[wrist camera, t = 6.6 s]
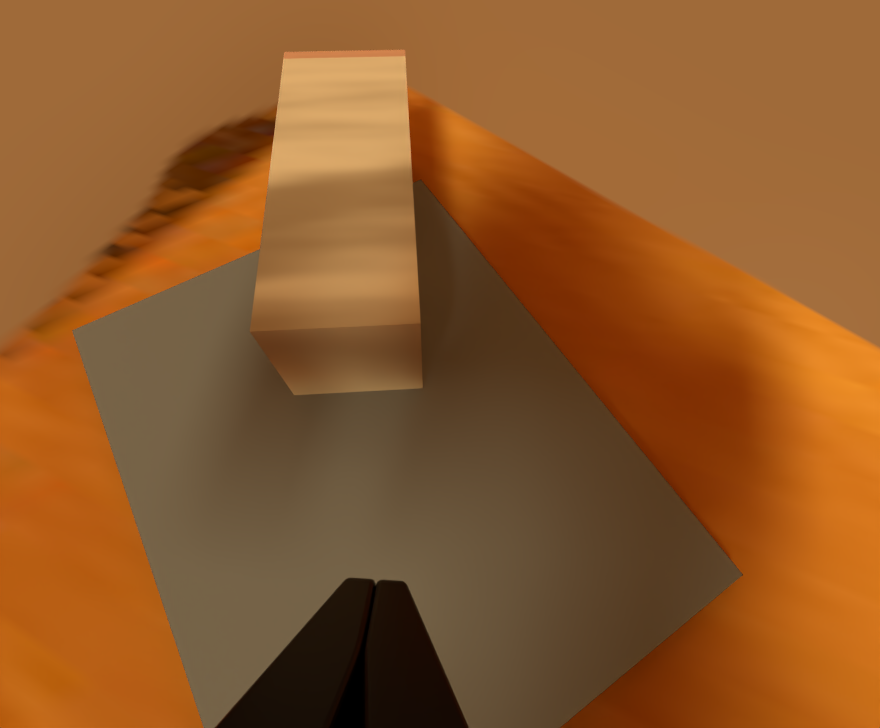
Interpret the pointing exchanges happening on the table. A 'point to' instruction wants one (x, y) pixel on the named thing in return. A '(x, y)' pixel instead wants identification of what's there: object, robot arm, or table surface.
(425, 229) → the rubber mat
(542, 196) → the table surface
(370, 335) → the maple block
